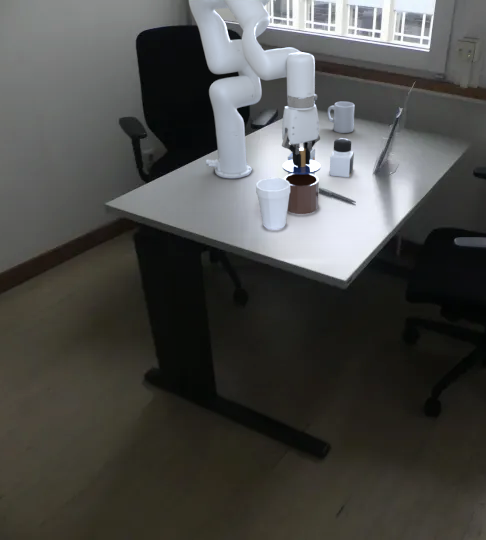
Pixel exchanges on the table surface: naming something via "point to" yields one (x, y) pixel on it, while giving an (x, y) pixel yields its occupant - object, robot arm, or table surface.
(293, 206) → the brown cup
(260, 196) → the foam cup
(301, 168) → the lid
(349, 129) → the mug
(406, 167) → the table surface
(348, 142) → the medicine bottle
